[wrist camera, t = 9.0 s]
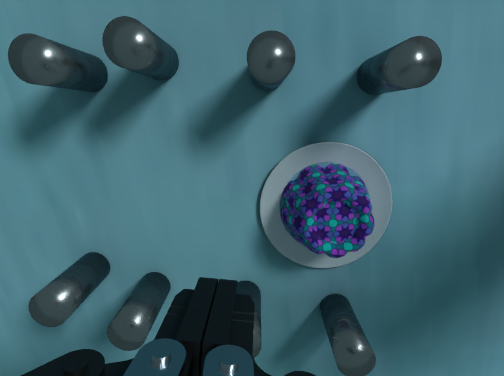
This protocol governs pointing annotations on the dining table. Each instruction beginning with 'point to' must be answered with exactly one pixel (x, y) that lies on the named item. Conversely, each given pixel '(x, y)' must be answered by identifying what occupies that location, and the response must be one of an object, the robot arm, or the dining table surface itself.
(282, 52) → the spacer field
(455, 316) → the dining table surface
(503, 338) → the dining table surface
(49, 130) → the dining table surface
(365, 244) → the pudding
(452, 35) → the dining table surface
